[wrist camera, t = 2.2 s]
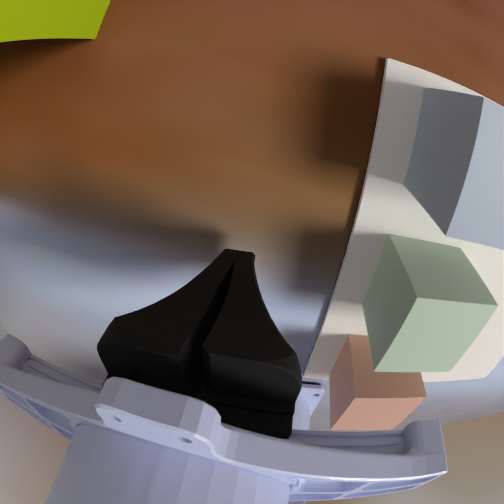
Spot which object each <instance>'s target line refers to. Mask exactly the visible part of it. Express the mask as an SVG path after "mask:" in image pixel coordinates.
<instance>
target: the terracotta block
mask: <svg viewBox="0 0 504 504" xmlns="http://www.w3.org/2000/svg"><path fill="white" fill-rule="evenodd" d="M329 380H330V430H389V429H393V428H395V427H396V426H397V425H398V424H399V423H400V422H401V421H402V420H403V419H404V418H406V417H407V416H408V415H409V414H410V413H411V412H412V411H413V410H414V409H415V408H416V407H417V406H418V405H419V404H420V403H421V402H422V401H423V400H424V399H425V398H426V392H425V388H424V383H423V379H422V375H421V372H375V371H374V370H373V363H372V356H371V350H370V344H369V338H368V336H365V335H354V334H349V335H348V337H347V339H346V341H345V344H344V346H343V348H342V350H341V352H340V354H339V356H338V358H337V360H336V362H335V364H334V366H333V368H332V370H331V372H330V374H329Z"/></svg>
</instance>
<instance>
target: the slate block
mask: <svg viewBox="0 0 504 504" xmlns="http://www.w3.org/2000/svg"><path fill="white" fill-rule="evenodd" d="M403 185H404V186H405V187H406V188H407V189H408V190H409V192H410V193H411V194H412V195H413V196H414V197H415V199H416V200H417V201H418V202H419V203H420V205H421V206H422V207H423V208H424V209H425V211H426V212H427V213H428V214H429V216H430V217H431V218H432V219H433V221H434V222H435V223H436V224H437V226H438V227H439V228H440V230H441V231H442V232H443V234H444V235H445V236H447V237H451V238H456V239H460V240H465V241H469V242H473V243H477V244H481V245H486V246H490V247H494V248H498V249H501V250H504V108H503V107H501V106H499V105H497V104H496V103H494V102H492V101H490V100H488V99H486V98H484V97H481V96H476V95H471V94H466V93H461V92H455V91H449V90H442V89H435V88H428V87H424V91H423V97H422V103H421V109H420V114H419V120H418V125H417V130H416V135H415V139H414V144H413V148H412V153H411V157H410V161H409V165H408V169H407V173H406V177H405V181H404V184H403Z"/></svg>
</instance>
